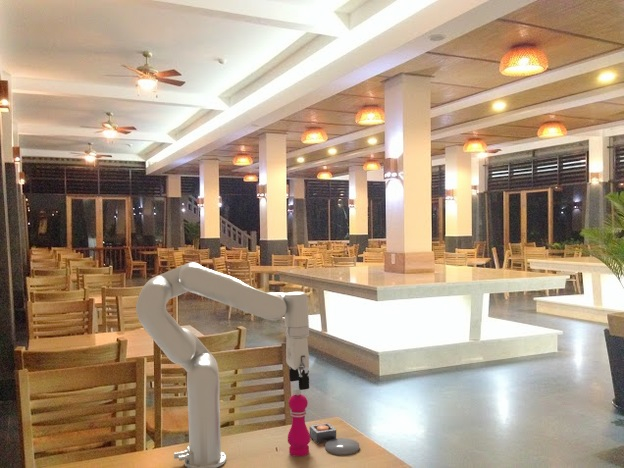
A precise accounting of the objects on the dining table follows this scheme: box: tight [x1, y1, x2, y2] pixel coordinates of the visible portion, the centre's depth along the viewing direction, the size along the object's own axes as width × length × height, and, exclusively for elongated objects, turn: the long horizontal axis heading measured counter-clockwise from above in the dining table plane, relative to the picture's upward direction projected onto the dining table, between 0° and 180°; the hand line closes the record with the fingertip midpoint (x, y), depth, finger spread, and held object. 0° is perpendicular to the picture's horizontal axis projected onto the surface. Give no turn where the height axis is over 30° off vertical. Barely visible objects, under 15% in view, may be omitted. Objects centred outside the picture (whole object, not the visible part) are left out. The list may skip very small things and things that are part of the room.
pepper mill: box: [287, 389, 311, 457], centre depth 180 cm, size 7×7×20 cm
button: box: [317, 425, 329, 431], centre depth 191 cm, size 4×4×2 cm
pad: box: [324, 437, 360, 456], centre depth 183 cm, size 11×11×1 cm
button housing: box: [309, 422, 337, 444], centre depth 191 cm, size 7×7×4 cm
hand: (299, 384), depth 179 cm, fingers open, 9 cm apart
